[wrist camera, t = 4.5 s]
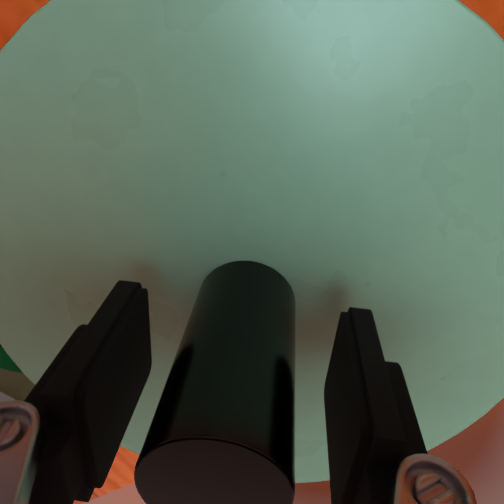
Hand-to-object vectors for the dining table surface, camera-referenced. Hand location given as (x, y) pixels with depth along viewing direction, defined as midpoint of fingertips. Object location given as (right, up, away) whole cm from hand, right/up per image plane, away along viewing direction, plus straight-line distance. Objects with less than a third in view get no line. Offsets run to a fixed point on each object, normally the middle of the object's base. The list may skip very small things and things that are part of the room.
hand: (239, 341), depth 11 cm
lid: (0, +1, +2) cm, 2 cm away
